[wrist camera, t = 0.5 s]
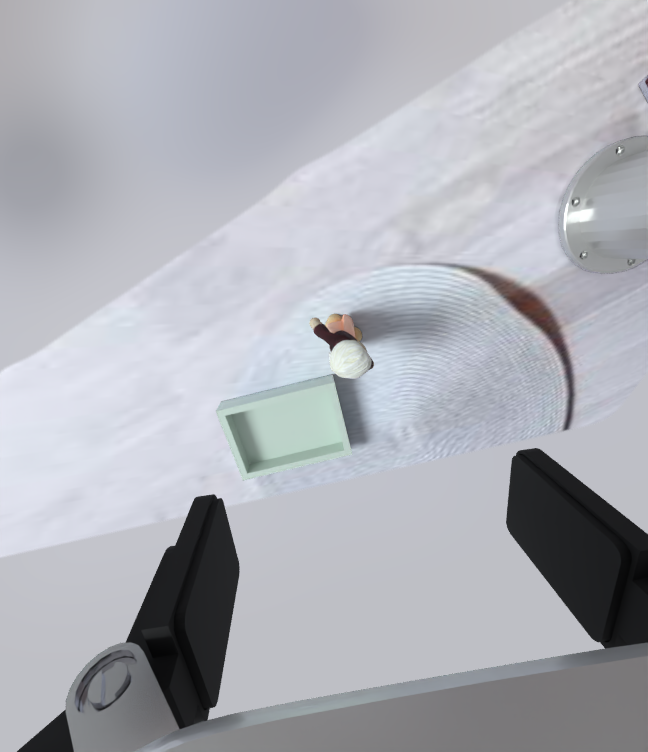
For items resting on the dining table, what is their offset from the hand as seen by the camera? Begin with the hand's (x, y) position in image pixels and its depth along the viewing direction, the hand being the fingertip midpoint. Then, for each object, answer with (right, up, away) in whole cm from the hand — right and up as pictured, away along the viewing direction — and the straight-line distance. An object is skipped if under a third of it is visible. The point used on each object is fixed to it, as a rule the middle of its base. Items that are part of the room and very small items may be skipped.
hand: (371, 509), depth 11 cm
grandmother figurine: (0, +10, +28) cm, 29 cm away
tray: (-6, -2, +31) cm, 32 cm away
